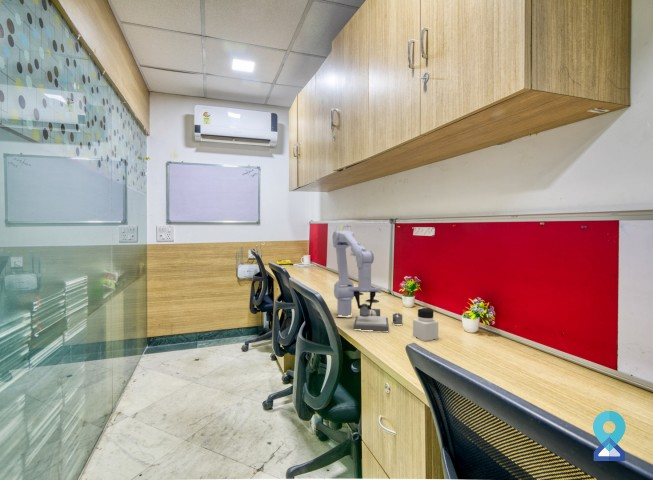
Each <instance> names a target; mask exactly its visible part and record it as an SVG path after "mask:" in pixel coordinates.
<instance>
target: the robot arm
mask: <svg viewBox="0 0 653 480" xmlns="http://www.w3.org/2000/svg"><path fill="white" fill-rule="evenodd" d="M332 245H333V246H332V247H333V248H334V249H335V251H336V260H337V261H336V262H337V263H336V264H337V274H338V280H337V281H336V282H335V283H334V286H333V287H334V288H333V295H334V297H335V299H336V300H337V314H338V315H342V316H348V315H351V313H352V310H353V309H352V308H353V307H352V303H353V302H352V300H353V299H354V298H355V300H356V303H357V309H358V310H360V305H361V304H360V303H361V301H360V295H361V294H360V293H369V305H370V309H372V306H373V301H374V298H375V297H376V295H377V293H378V294H382V288H381V287H372V264H373V263H374V259H375V256H374V253H373V252H372V250H367V249H366V247H365V246H364V245H363V244H362V243H361V242H360V241H359V242H357V240H356V238H355V233H354V232H353V230H352V229H351V230H336V229H335V230H334V231H333V233H332ZM349 247H350V251H351V252H352V254H353V255H354V256H355V262H356V267H357V268H358V269H357V270H358V272H357V273H358V275H357V278H358V279H357V280H358V283H357V284H358V285H357V286H354V282H353V281H351V280H350V279H349V270H348V261H347V251H346V250H347V248H349ZM337 314H336V315H337Z"/></svg>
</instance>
